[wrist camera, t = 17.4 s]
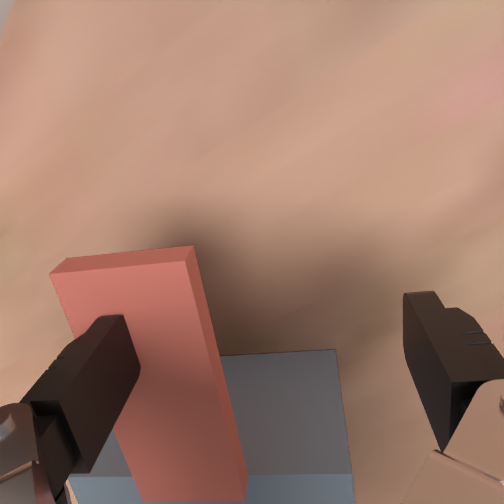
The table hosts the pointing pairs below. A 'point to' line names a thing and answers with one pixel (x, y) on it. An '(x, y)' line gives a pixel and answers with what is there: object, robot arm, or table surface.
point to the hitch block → (262, 435)
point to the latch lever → (163, 371)
